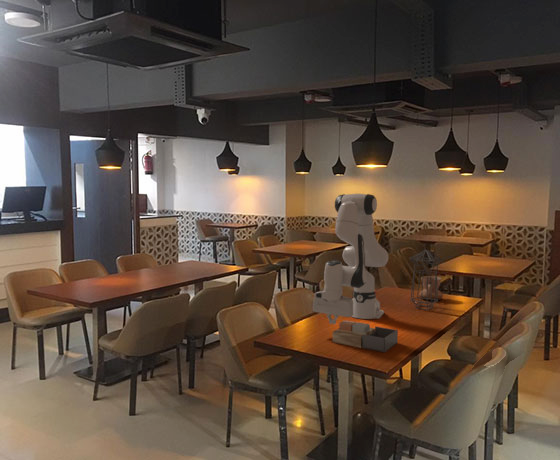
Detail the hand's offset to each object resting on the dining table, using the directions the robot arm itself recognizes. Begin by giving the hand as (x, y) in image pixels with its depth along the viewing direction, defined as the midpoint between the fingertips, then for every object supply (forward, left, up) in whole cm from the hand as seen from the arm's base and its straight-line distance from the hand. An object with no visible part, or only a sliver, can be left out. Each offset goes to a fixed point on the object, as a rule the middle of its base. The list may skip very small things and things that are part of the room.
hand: (332, 323), depth 233 cm
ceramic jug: (-108, +16, -6) cm, 109 cm away
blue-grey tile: (0, +15, -1) cm, 15 cm away
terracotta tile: (0, +8, -1) cm, 8 cm away
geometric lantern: (-84, +19, -6) cm, 86 cm away
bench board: (0, +11, -6) cm, 13 cm away
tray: (0, +24, -6) cm, 25 cm away
